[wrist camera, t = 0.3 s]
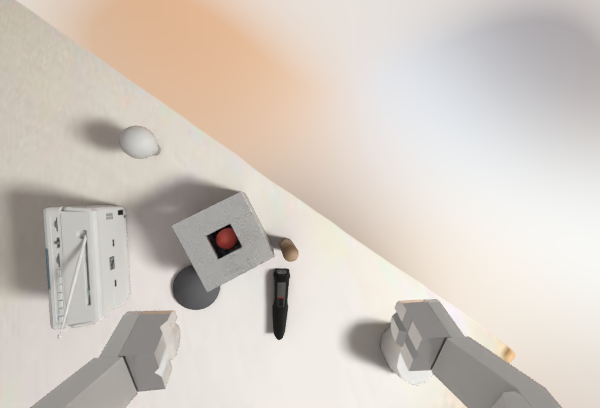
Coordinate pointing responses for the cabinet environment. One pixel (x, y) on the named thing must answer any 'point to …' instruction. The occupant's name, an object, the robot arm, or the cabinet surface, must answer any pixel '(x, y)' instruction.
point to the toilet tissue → (400, 360)
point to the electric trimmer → (280, 301)
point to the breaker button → (226, 238)
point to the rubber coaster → (192, 290)
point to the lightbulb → (139, 142)
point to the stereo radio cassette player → (85, 263)
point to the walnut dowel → (288, 250)
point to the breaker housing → (205, 251)
